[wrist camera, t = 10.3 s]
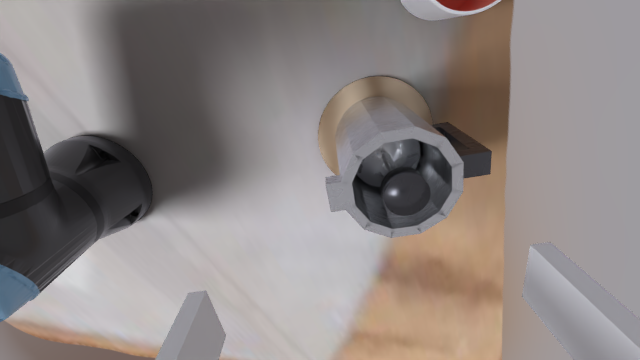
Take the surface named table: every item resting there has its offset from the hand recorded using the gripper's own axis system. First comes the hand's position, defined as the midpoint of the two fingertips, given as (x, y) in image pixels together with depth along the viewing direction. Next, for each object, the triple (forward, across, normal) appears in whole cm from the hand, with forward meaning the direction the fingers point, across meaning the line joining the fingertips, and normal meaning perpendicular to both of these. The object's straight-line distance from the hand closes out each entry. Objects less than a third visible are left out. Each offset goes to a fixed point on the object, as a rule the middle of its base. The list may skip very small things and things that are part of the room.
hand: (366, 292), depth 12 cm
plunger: (+24, +6, -4) cm, 25 cm away
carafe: (+31, +6, -4) cm, 32 cm away
